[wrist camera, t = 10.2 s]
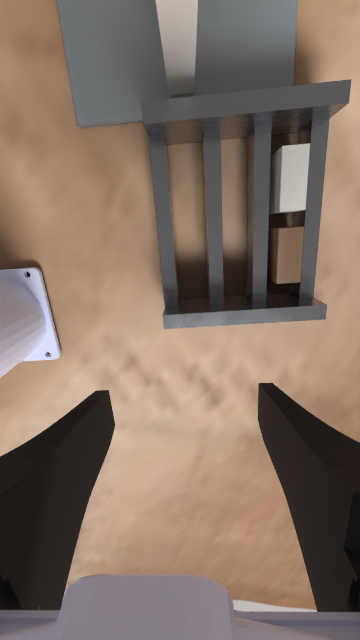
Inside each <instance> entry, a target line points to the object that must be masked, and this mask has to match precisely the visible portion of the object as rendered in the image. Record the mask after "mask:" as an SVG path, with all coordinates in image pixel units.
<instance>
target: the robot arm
mask: <svg viewBox="0 0 360 640" xmlns="http://www.w3.org/2000/svg"><path fill="white" fill-rule="evenodd" d="M27 272H29V273H30V277H28V276H27ZM47 352H49V353H50V354H51V355H48V353H47ZM60 356H61V350H60V346H59V342H58V338H57V334H56V330H55V326H54V322H53V318H52V313H51V309H50V305H49V301H48V297H47V293H46V289H45V285H44V281H43V277H42V273H41V271H40V270H39V269H38V268H36V267H31V268H18V269H4V270H0V377H2V376H3V375H4V374H6V373H7V372H8V371H9V370H11V369H12V368H13V367H15V366H16V365H17V364H18V363H20V362H21V361H34V360H52V359H58V358H59V357H60ZM258 422H259V426H260V429H261V433H262V437H263V440H264V443H265V445H266V448H267V450H268V453H269V455H270V458H271V460H272V463H273V465H274V468H275V470H276V473H277V475H278V478H279V480H280V483H281V485H282V488H283V491H284V493H285V496H286V499H287V502H288V506H289V509H290V512H291V516H292V519H293V522H294V526H295V529H296V533H297V537H298V540H299V544H300V547H301V551H302V554H303V558H304V562H305V565H306V569H307V573H308V577H309V580H310V584H311V588H312V592H313V596H314V600H315V604H316V608H317V612H241V611H234V607H233V601H232V599H231V597H230V595H229V593H228V591H227V589H226V588H225V587H224V586H223V585H221V584H220V583H218V582H216V581H215V580H213V579H211V578H210V577H207V576H201V575H195V574H97V575H91V576H86V577H82V578H81V579H79V580H78V581H77V582H76V583H74V584H73V585H72V586H71V587H69V588H68V589H67V592H66V595H65V598H64V600H63V596H64V591H65V587H66V583H67V579H68V575H69V571H70V567H71V563H72V558H73V554H74V551H75V547H76V543H77V539H78V536H79V532H80V528H81V525H82V521H83V518H84V514H85V511H86V507H87V504H88V501H89V498H90V495H91V492H92V490H93V487H94V485H95V482H96V480H97V477H98V474H99V472H100V469H101V467H102V464H103V462H104V459H105V457H106V454H107V452H108V449H109V446H110V443H111V440H112V436H113V432H114V427H115V422H114V416H113V411H112V406H111V400H110V395H109V390H101V391H95V392H94V393H92V394H91V395H90V396H89V397H87V398H86V399H85V400H84V401H82V402H81V403H80V404H79V405H77V406H76V407H75V408H74V409H72V410H71V411H70V412H69V413H67V414H66V415H65V416H64V417H62V418H61V419H59V420H58V421H57V422H55V423H54V424H53V425H51V426H50V427H49V428H47V429H46V430H44V431H43V432H41V433H40V434H38V435H37V436H35V437H34V438H32V439H31V440H29V441H27V442H26V443H24V444H22V445H21V446H19V447H17V448H15V449H14V450H12V451H10V452H8V453H6V454H4V455H3V456H1V457H0V640H360V443H359V442H357V441H355V440H353V439H351V438H349V437H348V436H346V435H344V434H342V433H341V432H339V431H337V430H335V429H334V428H332V427H330V426H329V425H327V424H326V423H324V422H323V421H321V420H320V419H318V418H317V417H315V416H314V415H312V414H311V413H309V412H308V411H307V410H305V409H304V408H303V407H301V406H300V405H299V404H297V403H296V402H295V401H294V400H292V399H291V398H290V397H289V396H288V395H286V394H285V393H284V392H283V391H281V390H280V389H279V388H278V387H277V386H275V385H274V384H273V383H259V395H258ZM62 600H63V603H62ZM61 605H62V606H61Z"/></svg>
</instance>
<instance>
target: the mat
mask: <svg viewBox="0 0 360 640" xmlns="http://www.w3.org/2000/svg"><path fill="white" fill-rule="evenodd" d="M56 1H57V6H58V12H59V18H60V24H61V30H62V36H63V42H64V48H65V54H66V59H67V65H68V71H69V77H70V83H71V89H72V95H73V101H74V107H75V113H76V118H77V124H78V126H79V127H80V128H84V127H94V126H103V125H113V124H123V123H132V122H142V121H143V117H142V107H141V102H146V101H155V100H165V99H174V98H183V97H192V96H202V95H211V94H220V93H230V92H239V91H248V90H258V89H267V88H276V87H286V86H293V81H294V61H295V42H296V22H297V2H298V0H198V12H197V36H196V59H195V83H194V93H189V94H180V95H171V96H169V92H168V85H167V78H166V71H165V64H164V57H163V50H162V43H161V35H160V28H159V21H158V14H157V7H156V0H56Z"/></svg>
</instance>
